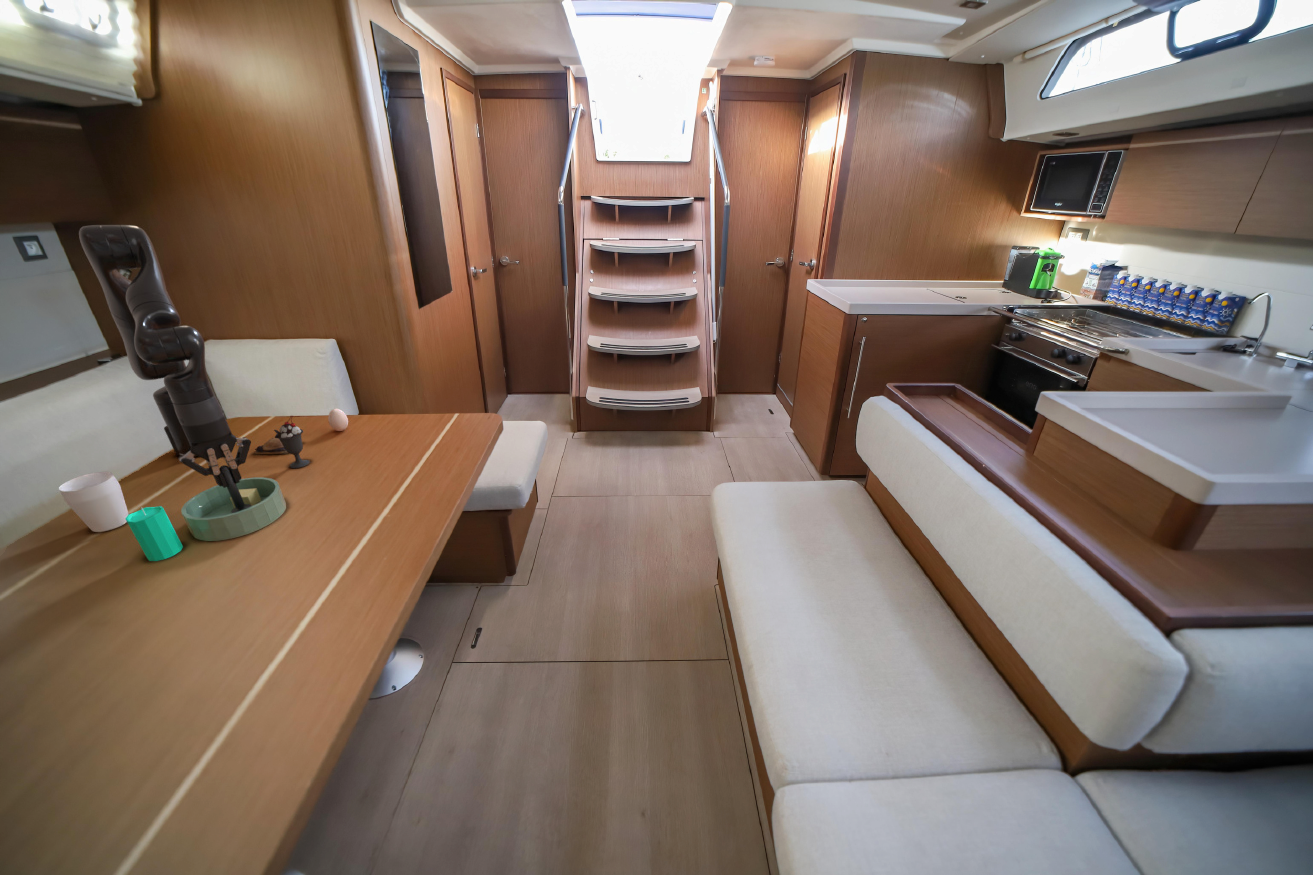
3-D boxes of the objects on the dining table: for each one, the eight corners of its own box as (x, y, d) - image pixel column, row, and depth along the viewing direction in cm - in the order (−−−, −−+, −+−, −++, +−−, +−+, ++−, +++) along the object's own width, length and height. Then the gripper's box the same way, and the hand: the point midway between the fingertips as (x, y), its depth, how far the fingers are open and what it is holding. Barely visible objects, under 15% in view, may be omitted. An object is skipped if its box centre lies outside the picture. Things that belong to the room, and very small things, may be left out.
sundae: (318, 459, 150) (303, 413, 143) (302, 470, 144) (285, 423, 137) (298, 458, 150) (282, 412, 144) (280, 469, 144) (263, 422, 138)
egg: (348, 433, 166) (341, 411, 163) (329, 435, 165) (322, 413, 161) (352, 426, 171) (346, 405, 167) (334, 428, 170) (327, 406, 166)
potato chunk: (235, 511, 124) (229, 498, 122) (244, 502, 128) (238, 489, 126) (253, 510, 125) (247, 496, 123) (261, 501, 128) (256, 488, 126)
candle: (189, 547, 113) (167, 502, 107) (158, 563, 107) (133, 517, 102) (171, 541, 114) (149, 497, 109) (140, 557, 109) (114, 512, 104)
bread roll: (304, 442, 160) (301, 432, 158) (287, 454, 152) (283, 444, 151) (270, 442, 160) (266, 432, 158) (252, 454, 152) (247, 444, 150)
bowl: (171, 545, 113) (160, 523, 110) (221, 500, 130) (212, 480, 127) (262, 536, 116) (253, 515, 113) (299, 493, 133) (292, 474, 130)
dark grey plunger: (230, 521, 120) (207, 470, 114) (239, 511, 124) (218, 462, 117) (248, 519, 121) (227, 469, 115) (257, 510, 124) (237, 461, 118)
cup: (144, 518, 122) (121, 476, 117) (95, 539, 115) (68, 495, 109) (125, 509, 125) (102, 468, 120) (76, 529, 118) (50, 486, 113)
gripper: (233, 404, 118) (258, 468, 125) (156, 423, 107) (188, 491, 115) (245, 411, 114) (270, 477, 121) (167, 432, 104) (199, 502, 111)
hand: (230, 484), depth 118 cm, fingers closed on dark grey plunger, 2 cm apart
